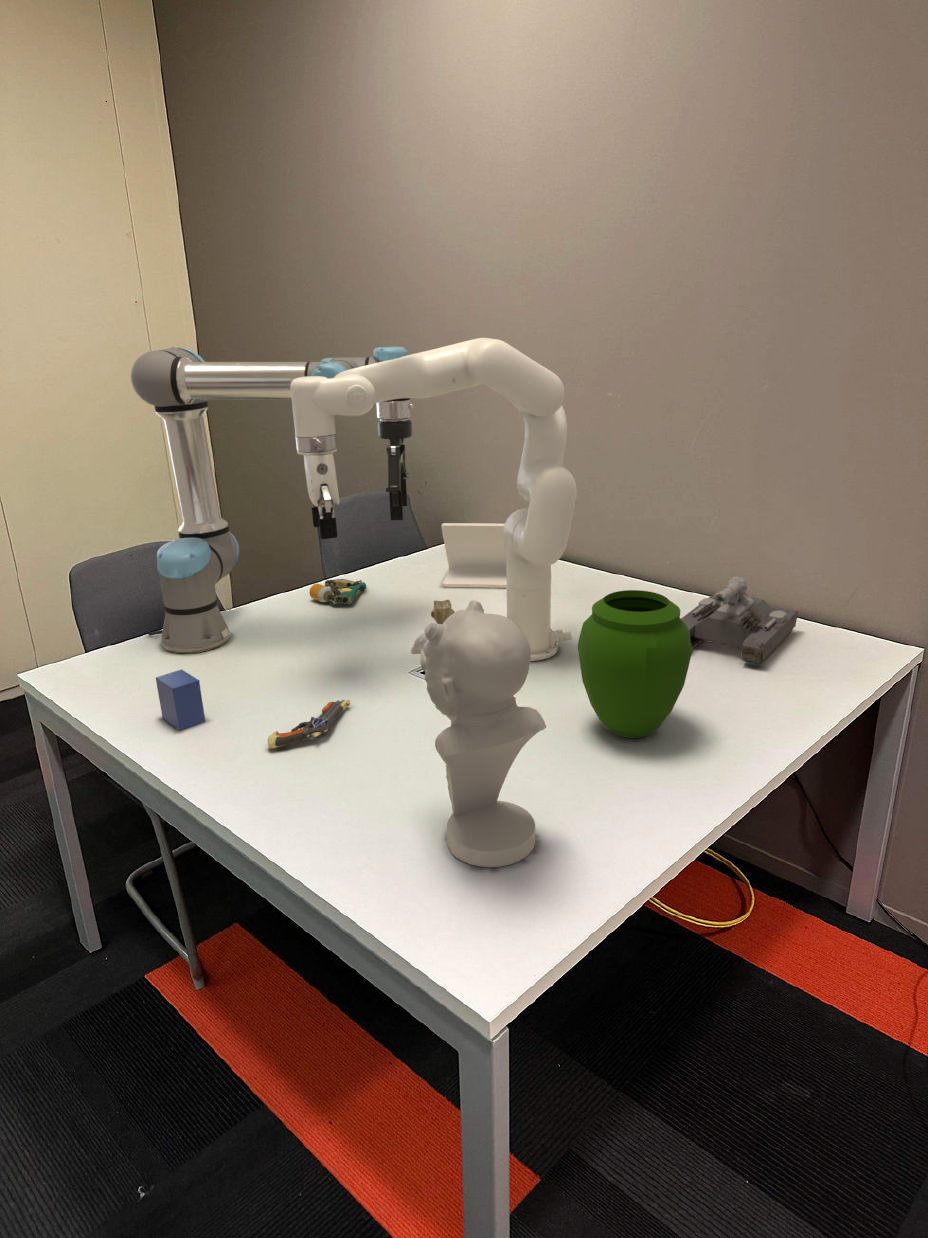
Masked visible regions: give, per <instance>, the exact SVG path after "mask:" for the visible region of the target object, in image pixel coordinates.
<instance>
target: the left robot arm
mask: <svg viewBox="0 0 928 1238" xmlns="http://www.w3.org/2000/svg"><path fill="white" fill-rule="evenodd" d="M408 353H409V352H408V350H407V348H405V347H403V346H381V347H375V348H374V349H373V354H372V356H367V357H339V356H333V357H326V358H323V359H321V360H320V361H205V360H204V359H203V357H202V356H201V355H199V354H198V353H197V352H195V351H193V350H191V349H188V348H185V347H175V346H173V347H168V348H163V349H158V350H150V351H147V352H145V353H143V354H141V355H140V356H139V357H138V358H137V359H136V360H135V361H134V363H133V365H132V367H131V372H130V382H131V385H132V389H133V391H134V392H135V394H136V395H137V396H138V397H139V398H140V399H141V400H143V402H145V403H147V404H149V405H151V406H153V407H154V411H155V414H156V415H157V416H158V417H160V418H161V419H162V420H163V421H164V426H165V431H166V437H167V443H168V448H169V454H170V458H171V464H172V469H173V474H174V479H175V484H176V491H177V494H178V495H177V496H178V500H179V504H180V511H181V517H182V524H180V526H179V527H178V529H177V531H178V536H179V538H177V539H175V540H174V541H173V540H172V541H171V540H170V541H168V542H166V543H164V544H163V545H162V546H161V547H159V548H158V550H157V553H156V569H157V572H158V576H159V582H160V589H161V595H162V600H163V607H164V612H165V613H164V620H163V625H162V629H159V630H155V631H150V632H148V634H147V635H148V636H150V637H151V636H155V635H161V638H160V642H161V646H162V648H163V649H164V650H165V651H167V652H170V653H174V654H196V653H202V652H207V651H211V650H213V649H217V648H219V647H221V646H223V645H225V644H226V643H227V642H228V641H229V640H230V638H231V633H230V629H229V626H228V624H227V622H226V620H225V618H224V616H223V614H222V612H221V610H220V608H219V604H218V599H217V598H218V597H217V591H216V590H217V589H216V584H218V582H220V580H222V579H223V578H224V577H226V576H228V575H229V574H230V573H231V572H232V571H233V569H234V568H235V567H236V565H237V563H238V560H239V557H240V546H239V542H238V540H237V539H236V536H235V535H234V534H232V533H231V532H230V526H229V523H228V521H227V520H225V519H224V518H223V517H221V513H220V508H219V506H220V505H219V501H218V500H219V499H218V495H217V490H216V484H215V483H216V482H215V478H214V472H213V467H212V460H211V455H210V449H209V443H208V438H207V431H206V426H205V419H204V415H205V413H206V412H207V410H209V402H208V400H292V398H291V387H290V386H291V382H292V381H293V380H294V379H296V378H299V377H307V376H322V377H326V378H328V379H331V378H334V377H335V376H336V375H337V374H339V373H341V372H343V371H346V370H350V369H354V368H358V367H362V366H366V365H370V364H374V363H379V362H383V361H388V360H392V359H397V358H400V357H404V356H407V355H409V354H408ZM375 405H376V417H377V419H378V421H377V433H378V434H377V435H378V437H379V439H383V440H389V441H388V442H389V444H387V446H386V455H387V480H388V481H387V482H388V485H387V487H386V488H385V492H386V493H388V495H389V496H388V497H389V511H390V512H389V513H390V514H389V515H390V521H404V510H403V509H404V508H403V507H408V494H407V493H408V492H407V491H408V490H407V479H409V477H410V475H409V474H410V473H408V472H407V467H406V444H404V439H409V438H411V437H412V435H413V427H412V420H411V419H410V418H411V417H412V410H411V409H414V404H413V403H411V398H401V399H393V400H387V401H383V402H379V403H375Z"/></svg>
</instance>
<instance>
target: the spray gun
mask: <svg viewBox="0 0 928 1238" xmlns="http://www.w3.org/2000/svg"><path fill="white" fill-rule="evenodd" d="M366 589H367V584H366V582H364V581H362V579H360V580H356V581H353V580H349V579H346V578H337V579H326V580H325V582H324V585H323V584H321V583H314V584H312V585H311V586H310V588H309V592H308V594H309V596H310V598H311V599H313V600H315V601H318V602H321V603H328V602H330V601H331V602H334V603H335V604H344V605H345V604H346V605H352V604H353V602H354V601H355V600H356V599H357V597H358V596H359V594H360V593H363V592H364V591H366Z"/></svg>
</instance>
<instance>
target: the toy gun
mask: <svg viewBox="0 0 928 1238" xmlns="http://www.w3.org/2000/svg"><path fill="white" fill-rule="evenodd" d="M348 707H351V700H349V699H346V700H345V699H341V700H336V701H329V702H328V703H327V704H326V705H325V706H324V707H323V708H322V709H321V714H320V715H319V716H317V717H314V716H311V717H310V719H309V721H303V722H300V723H298V725H296V726H294V727H293V728H292V729H291V731H288V732H281V733H280V732H279V731H278V730H275V731H273V732H272V733H271V734H269V735H268V737H267V745H268V748H269V749H277V748H280V747H284V746H287V745H291V744H294V743H297V742H301V741H304V740H308V739H310V738H313V737H314V738H317V737H318V736H321V735H322V734H324V733H326V732H328V730H330V728H332V727H333V725H334V723H335V720H336V719H337V718H338V717H339V716H340V714H341V713H342V712H343V711H345V709H346V708H348Z"/></svg>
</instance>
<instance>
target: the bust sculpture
mask: <svg viewBox="0 0 928 1238" xmlns="http://www.w3.org/2000/svg"><path fill="white" fill-rule="evenodd" d="M454 612H455V613H453V614H452V615H451V616H450V617H448V618H447V619H446V620H445V622H444V623H443V624H436V623H435V622H430V623H428V624H427V625H426V626H425V628H424V632H423V633H421V634H419V635H418V636H417V637H416V638H415V640H414V642H413V645H412V647H411V649H410V654H412V655H420V667H421V669H422V670H423V672H424V681H425V682H426V690H427V693H428V696H429V698H430V701H431V702H432V704H434V706H435V708H436V710H438V711H439V712H440V713H441V714H442V716H446V717H447V718H448V719H449V720H450V726H448V727H446V728H445V729H443V730H442V731H441V732H440V733H439V734H438V735H436V738H435V741H434V748H435V749H436V752H437V753H438V755H439V757H440V758H441V760H442V761H443V762H444V763H445V771H446V781H447V790H448V796H449V800H450V803H451V810H452V813H451V814H450V815H449V817H448V819H447V822H446V844H447V847H448V849H449V851H450V852H451V854H452V855H453V856H454V857H456V858H457V859H459V860H460V861H462V862H463V863H466V864H469V865H471V866H476V867H483V868H498V867H505V866H509V865H512V864H517V862H520V861H521V860H523V859H525V858H527V856H528V855H530V854H531V852H532V851H533V849H535V848H534V847H535V845H536V822H535V821H536V820H535V819H534V817H533V816H532V814H531V813H530V812H529V811H528V810H526V809H525V808H524V807H522V806H520V805H517V804H515V803H513V802H509V801H504V800H499V796H500V793H501V790H502V788H503V785H504V783H505V780H506V778H507V776H508V773H509V771H510V769H511V768H512V765H513V763H514V761H515V760H516V759H517V756H518V755H519V753H520V752H521V750H522V749H523V748H524V747H525V745H526V744H527V743H528V742H529V741H530V740H531V739H532V738H533V737H535V735H537V734H538V733H539V732H541V731H544V730H545V729H546V728H547V725H546V723H545V720H544V718H543V717H542V714H541V713H540V712H539V711H538V710H537V709H535V708H533V707H530V706H518V705H517V701H516V699H517V698H516V696H515V695H516V694H517V693H519V691H521V689H522V688H523V686H524V684H525V683H526V680H527V678H528V675H529V669H530V666H531V661H530V656H531V655H530V653H531V652H530V646H529V643H528V640H527V638H526V636H525V634H524V633H523V632H522V630H521V629H520V628H519V627H518V626H517V625H516V624H515V623H514V622H513V621H512V620H511V619H509V618H507V616H504V615H503V614H502V615H501V614H496V613H485V609H484V607H483V605H482V603H481V602H480V601H478V600H473V599H472V600H470V601H469V603H468V605H467V607H466V609H460V610H457V611H454Z"/></svg>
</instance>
